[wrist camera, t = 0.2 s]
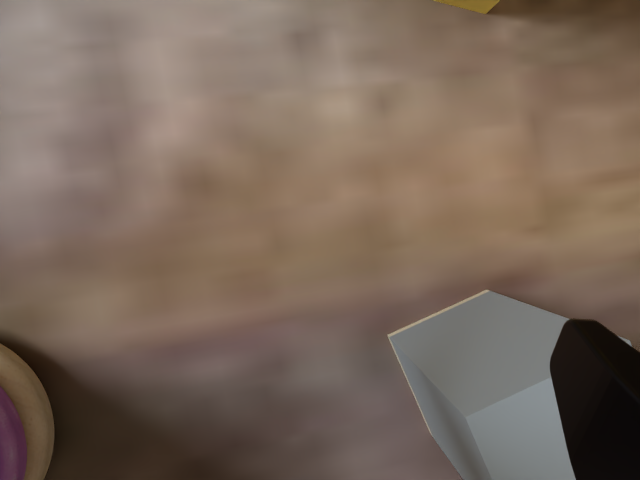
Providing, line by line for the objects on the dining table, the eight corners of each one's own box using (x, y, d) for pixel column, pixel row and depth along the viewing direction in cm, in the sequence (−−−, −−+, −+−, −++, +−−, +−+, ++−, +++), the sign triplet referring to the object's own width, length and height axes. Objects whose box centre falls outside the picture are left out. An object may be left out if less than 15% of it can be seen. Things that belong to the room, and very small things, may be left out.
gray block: (527, 387, 25) (694, 501, 15) (430, 433, 25) (535, 579, 15) (486, 289, 25) (629, 340, 15) (387, 334, 25) (465, 416, 15)
